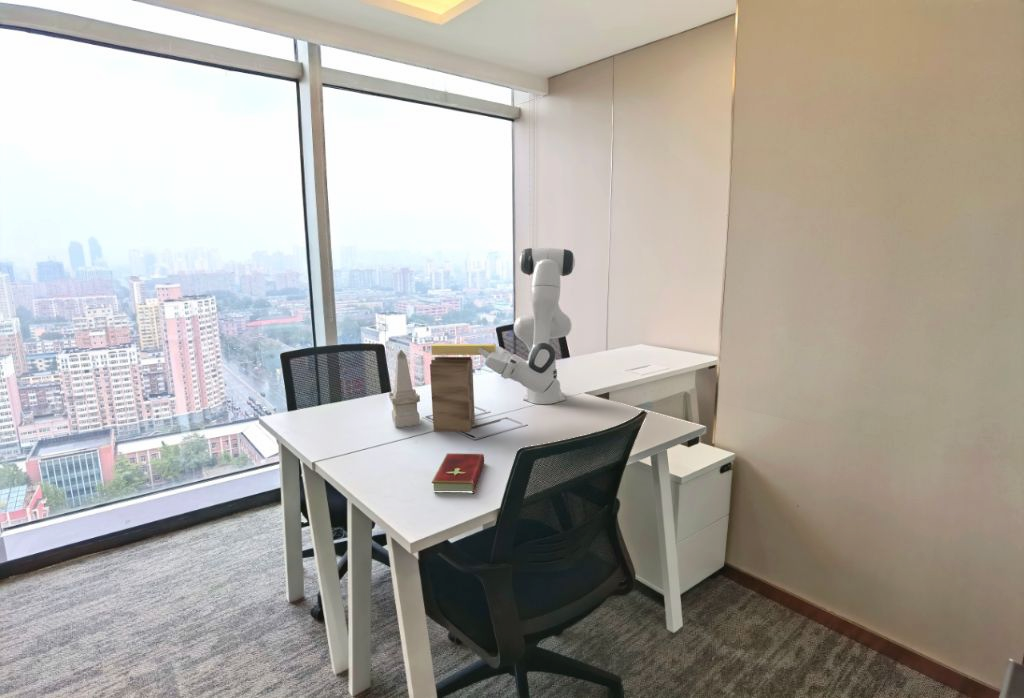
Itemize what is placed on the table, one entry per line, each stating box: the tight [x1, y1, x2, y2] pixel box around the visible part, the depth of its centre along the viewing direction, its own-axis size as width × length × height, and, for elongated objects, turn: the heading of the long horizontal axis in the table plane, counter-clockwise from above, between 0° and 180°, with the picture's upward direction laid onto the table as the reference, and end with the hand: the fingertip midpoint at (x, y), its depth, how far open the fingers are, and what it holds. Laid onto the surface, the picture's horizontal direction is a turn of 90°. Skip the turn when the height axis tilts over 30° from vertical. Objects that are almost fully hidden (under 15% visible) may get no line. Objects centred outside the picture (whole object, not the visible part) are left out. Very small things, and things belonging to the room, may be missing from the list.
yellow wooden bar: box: [430, 343, 497, 356], centre depth 197 cm, size 4×24×4 cm, turn 82°
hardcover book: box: [431, 452, 485, 493], centre depth 157 cm, size 12×21×4 cm, turn 175°
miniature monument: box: [388, 349, 421, 428], centre depth 207 cm, size 10×10×30 cm
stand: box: [429, 356, 476, 433], centre depth 201 cm, size 10×14×27 cm
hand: (479, 348), depth 196 cm, fingers closed on yellow wooden bar, 3 cm apart
